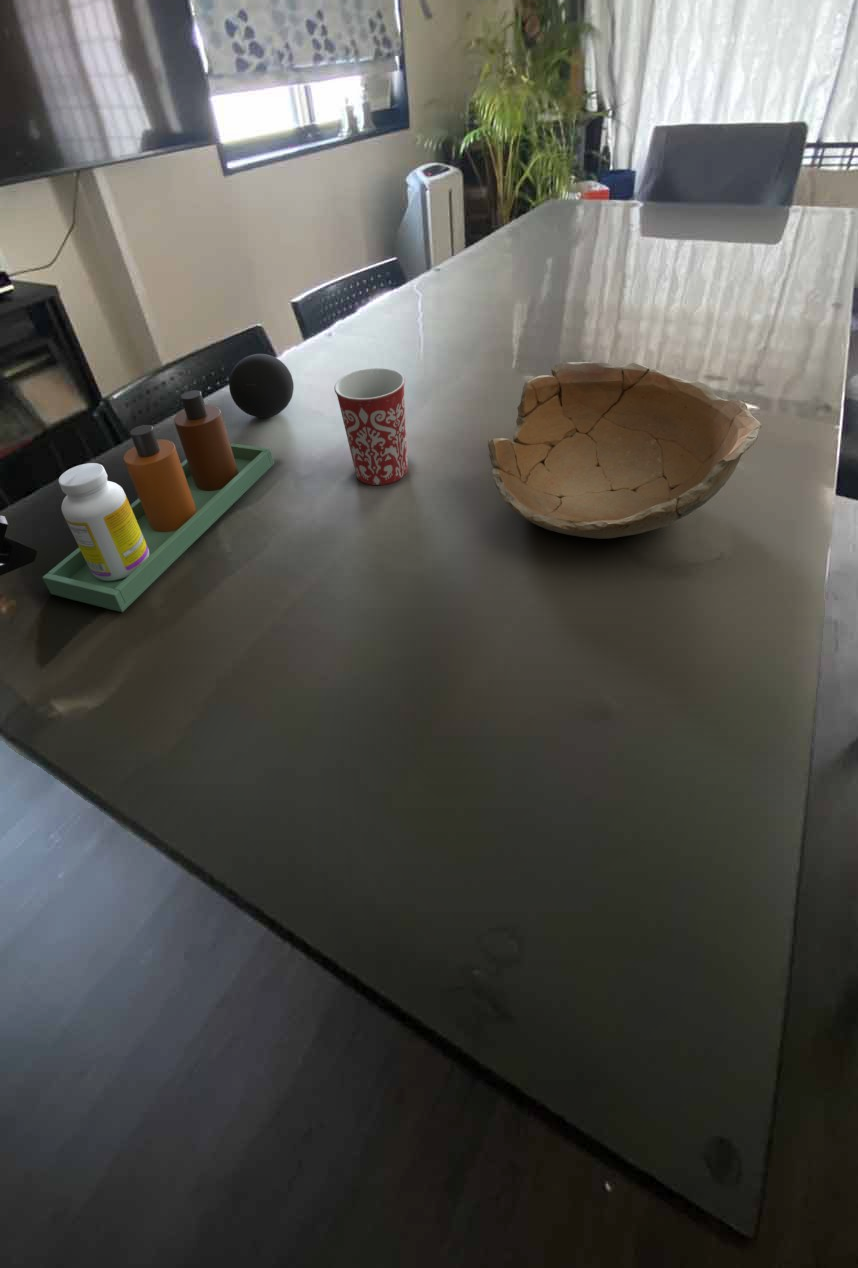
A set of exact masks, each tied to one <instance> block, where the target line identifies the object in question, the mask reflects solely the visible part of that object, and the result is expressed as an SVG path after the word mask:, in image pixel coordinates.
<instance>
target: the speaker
mask: <svg viewBox="0 0 858 1268" xmlns="http://www.w3.org/2000/svg"><path fill="white" fill-rule="evenodd" d="M294 386H295V385H294V379H293V376H292V373H291V371H290V370H289V368H288V367H287V366H286V364H285V363H284V362H283V361H281V360H280V359H279V358H277V357H275V356H273V355H270V354H267V353H253V354H249V355H247V356H245V357H243V358H242V359H240V360H239V361H238V362H237V363H236V364H235V365H234V367H233V368H232V371H231V373H230V376H229V381H228V388H229V393H230V396H231V399H232V400H233V402H234V404H235V405H236V406H237V407H238V408H239V410H241V411H242V412H244V413H245V414H247V415H249V416H252V417H255V418H270V417H273V416H276V415H278V414H279V413H282V412H283V411H284V410H285V409H286V408H287V407H288V405H289V404H290V402H291V400H292V399H293V395H294V389H295V387H294Z"/></svg>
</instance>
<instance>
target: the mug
mask: <svg viewBox="0 0 858 1268" xmlns="http://www.w3.org/2000/svg"><path fill="white" fill-rule="evenodd" d="M405 385H406V377H405V376H404V374H402V372H400V371H398V370H395V369H392V368H385V367H372V368H362V369H359V370H355V371H352V372H349V373H347V374H345V375H343V376H342V377H340V378H339V379H337V380H336V382H335V384H334V387H333V389H334V393H335V394H336V396H337V397H336V398H337V400H338V404H339V409H340V413H341V417H342V421H343V425H344V429H345V435H346V438H347V439H346V440H347V443H348V447H349V451H350V455H351V460H352V464H353V468H354V472H355V475H356V478H357V479H358V480H359V481H360V482H362V483H364V484H367V485H372V486H385V485H389V484H393V483H395V482H397V481H399V480H401V479H402V478H403V477H404V476H405V475H406V474H407V472H408V468H409V466H408V444H407V425H406V403H405V402H406V401H405Z"/></svg>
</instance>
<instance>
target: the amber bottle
mask: <svg viewBox="0 0 858 1268" xmlns="http://www.w3.org/2000/svg"><path fill="white" fill-rule="evenodd" d="M129 435H130V438H131V440H132V442H133V445H134V446H133V447H130V448H129V449H127V451H126V452H125V453H124V455H123V461H124V462H123V463H124V464H125V467H126V469H127V471H128V474H129V476H130V479H131V481H132V484H133V487H134V490H135V492H136V494H137V496H138V497H137V498H139V499H140V502H141V504H142V507H143V509H144V512H145V514H146V517H147V519H148V522H149V524H150V527H151V528H152V529H153V530H155V531H158V532H171V531H175V530H178V529H179V528H180V527H181V526H183V525H184V524H185V523H186V522H187V521H188V520H189V519H190V518H191V517H192V516H193V515H194V514H195V513H197V509H196V506H195V503H194V500H193V497H192V495H191V492H190V489H189V486H188V483H187V480H186V477H185V474H184V471H183V468H182V465H181V463H182V462H181V460H180V457H179V454H178V451H177V447H176V445H175V444H174V442H173V441H172V440H168V439H158V438H157V436H156V433H155V430H154V428H153V426H152V425H150V424H142V425H138V426H135V427H134V428H132V429H131V430H130V431H129Z"/></svg>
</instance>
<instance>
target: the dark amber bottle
mask: <svg viewBox="0 0 858 1268" xmlns="http://www.w3.org/2000/svg"><path fill="white" fill-rule="evenodd" d="M180 400H181V403H182V406H183V410H182V411H180V412H178V413H177V414H176V415H175V416H174V418H173V422H174V426H175V430H176V432H177V435H178V438H179V441H180V443H181V446H182V450H183V453H184V455H185V458H186V459H187V462H188V465H189V468H190V471H191V474H192V477H193V480H194V483H195V485H196V487H197V488H198V489H200V490H204V491H215V490H220V489H222V488H223V487H225V486H226V485H227V484H228V483H229V482H230V481H231V480H232V479H233V478H234V477H235V476H236V475H237V474H238V470H237V466H236V463H235V459H234V456H233V453H232V449H231V446H230V443H231V442H230V440H229V439H230V438H229V436H228V435H229V434H228V432H227V428H226V425H225V421H224V418H223V414H222V411H221V409H220V407H218V406H216V405H212V404H205V400H204V398H203V394H202V392H201V391H200V390H198V389H197V390H195V389H194V390H188V391H186V392H183V393H182V394H181V395H180ZM186 459H185V460H186Z"/></svg>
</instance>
